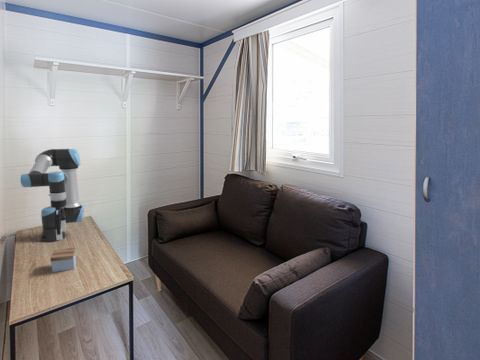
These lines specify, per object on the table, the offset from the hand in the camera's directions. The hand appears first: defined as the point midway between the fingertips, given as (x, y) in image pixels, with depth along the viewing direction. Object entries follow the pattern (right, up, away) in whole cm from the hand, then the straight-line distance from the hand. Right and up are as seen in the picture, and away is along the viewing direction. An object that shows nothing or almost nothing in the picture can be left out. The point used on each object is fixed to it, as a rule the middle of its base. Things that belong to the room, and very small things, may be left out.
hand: (61, 235), depth 170 cm
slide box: (-1, -19, +4) cm, 20 cm away
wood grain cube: (-1, -13, +3) cm, 14 cm away
